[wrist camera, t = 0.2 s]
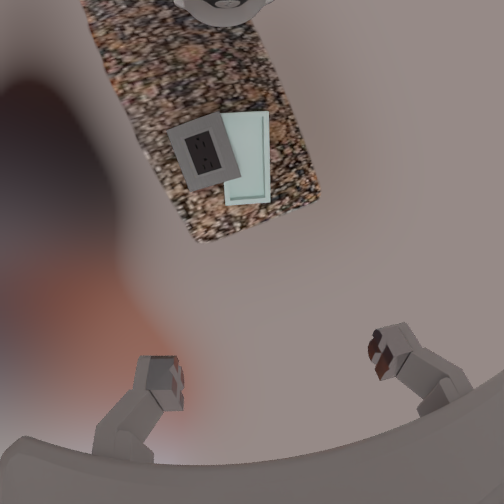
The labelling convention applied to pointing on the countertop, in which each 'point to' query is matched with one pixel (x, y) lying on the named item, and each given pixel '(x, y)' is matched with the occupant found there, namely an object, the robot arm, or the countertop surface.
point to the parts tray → (248, 157)
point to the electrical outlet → (204, 152)
